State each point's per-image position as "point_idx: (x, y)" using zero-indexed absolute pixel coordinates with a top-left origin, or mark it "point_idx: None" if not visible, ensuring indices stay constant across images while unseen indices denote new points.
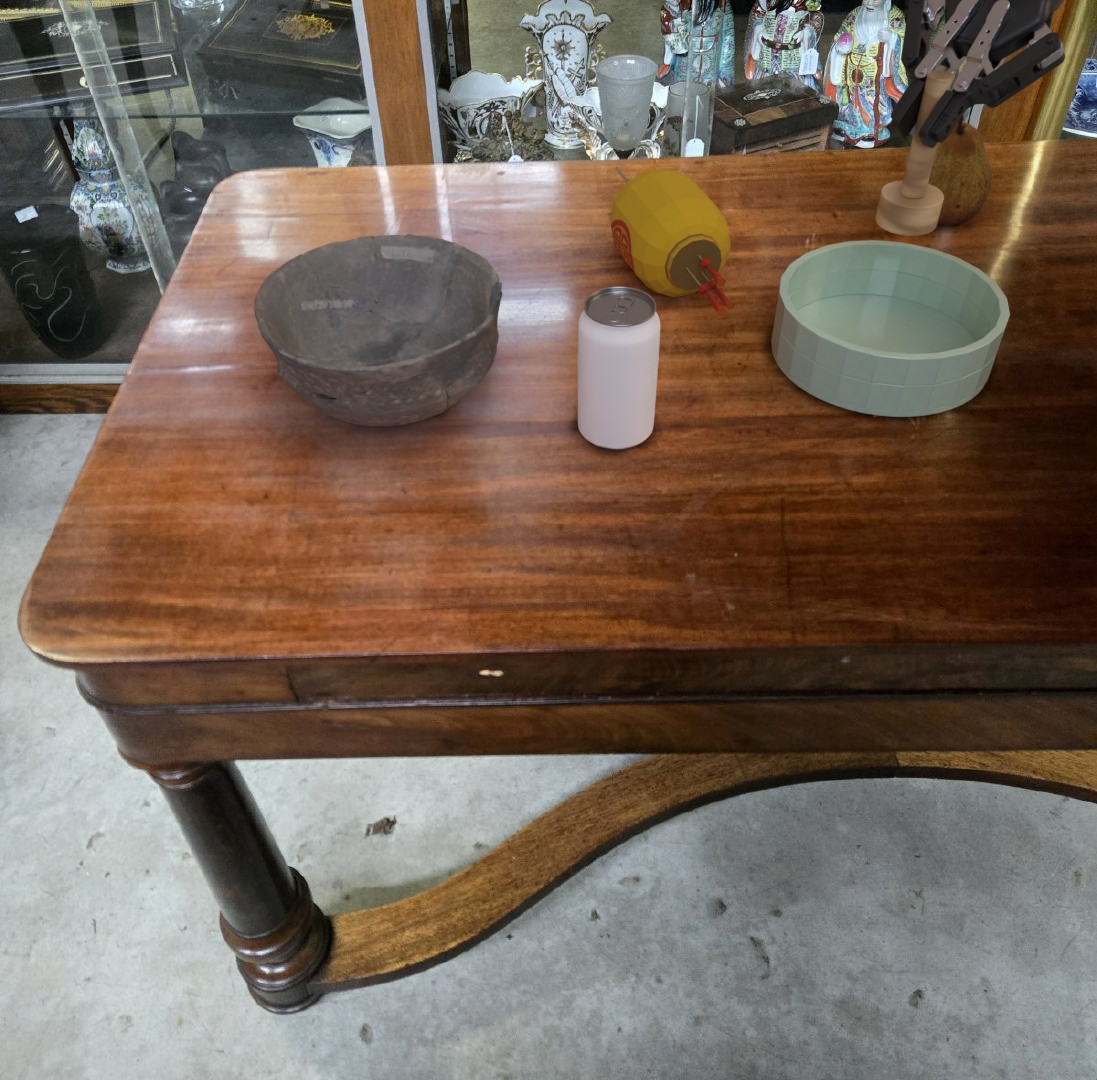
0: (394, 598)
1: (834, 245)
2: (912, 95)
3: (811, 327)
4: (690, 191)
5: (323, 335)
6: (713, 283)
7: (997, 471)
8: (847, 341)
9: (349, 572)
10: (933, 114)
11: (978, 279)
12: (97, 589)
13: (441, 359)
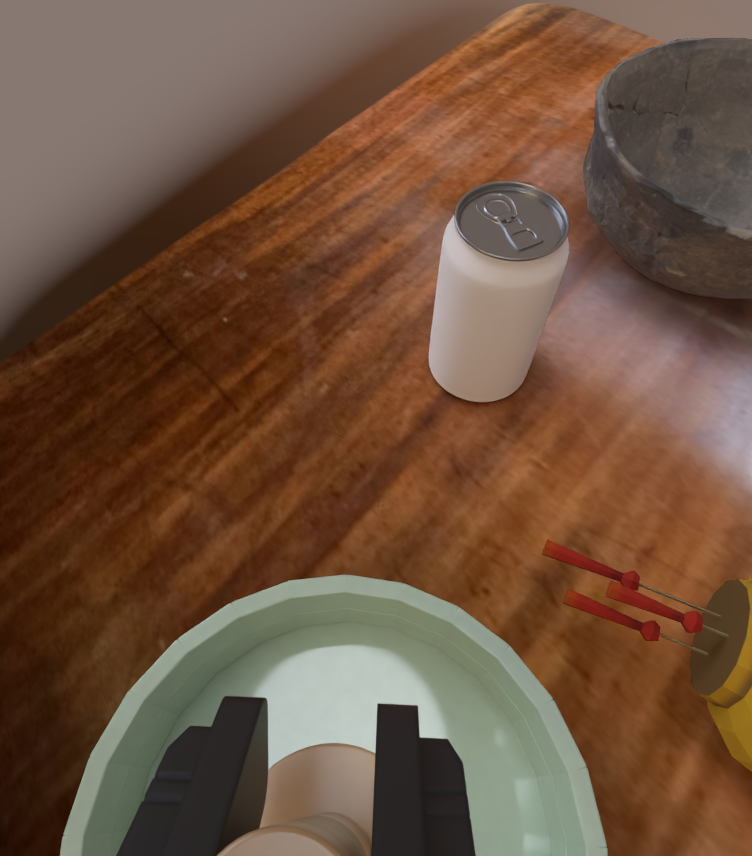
0: (412, 126)
1: None
2: (395, 808)
3: (376, 586)
4: None
5: None
6: (647, 626)
7: (13, 671)
8: None
9: (462, 120)
10: (228, 761)
11: None
12: (561, 29)
13: (597, 126)
